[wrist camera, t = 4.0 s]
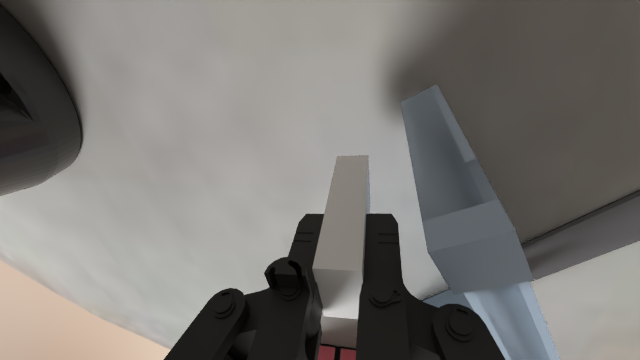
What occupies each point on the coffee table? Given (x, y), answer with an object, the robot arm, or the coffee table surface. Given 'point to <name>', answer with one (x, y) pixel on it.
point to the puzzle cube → (336, 353)
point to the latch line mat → (585, 237)
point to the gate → (472, 230)
